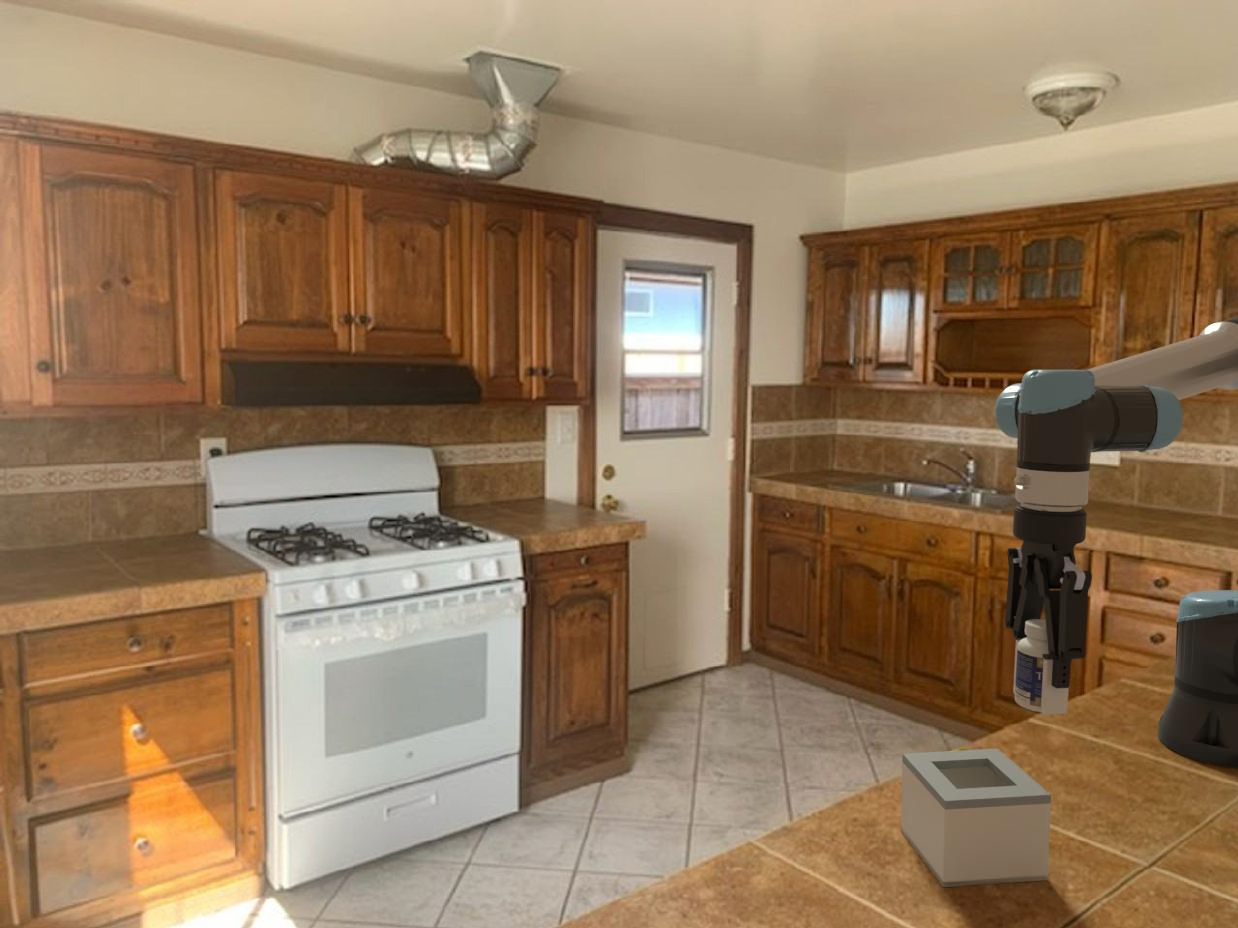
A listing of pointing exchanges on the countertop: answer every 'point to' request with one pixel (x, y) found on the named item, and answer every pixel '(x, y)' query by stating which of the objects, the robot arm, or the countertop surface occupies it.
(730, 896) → the countertop surface
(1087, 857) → the countertop surface
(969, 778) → the drop box
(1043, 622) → the pill bottle
